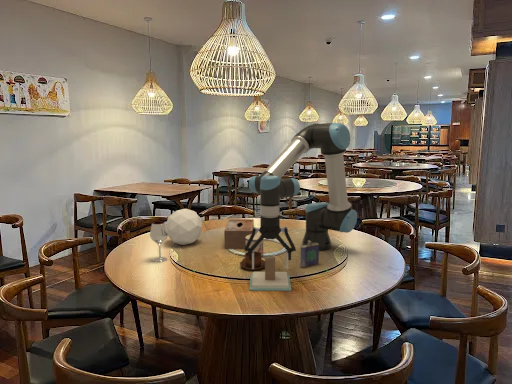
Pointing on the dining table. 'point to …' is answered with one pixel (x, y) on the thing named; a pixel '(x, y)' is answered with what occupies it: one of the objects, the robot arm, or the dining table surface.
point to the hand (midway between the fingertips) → (270, 267)
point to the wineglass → (159, 237)
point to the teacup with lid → (260, 245)
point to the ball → (184, 226)
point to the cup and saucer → (257, 261)
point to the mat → (269, 288)
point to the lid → (270, 276)
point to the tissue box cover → (237, 233)
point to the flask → (309, 255)
